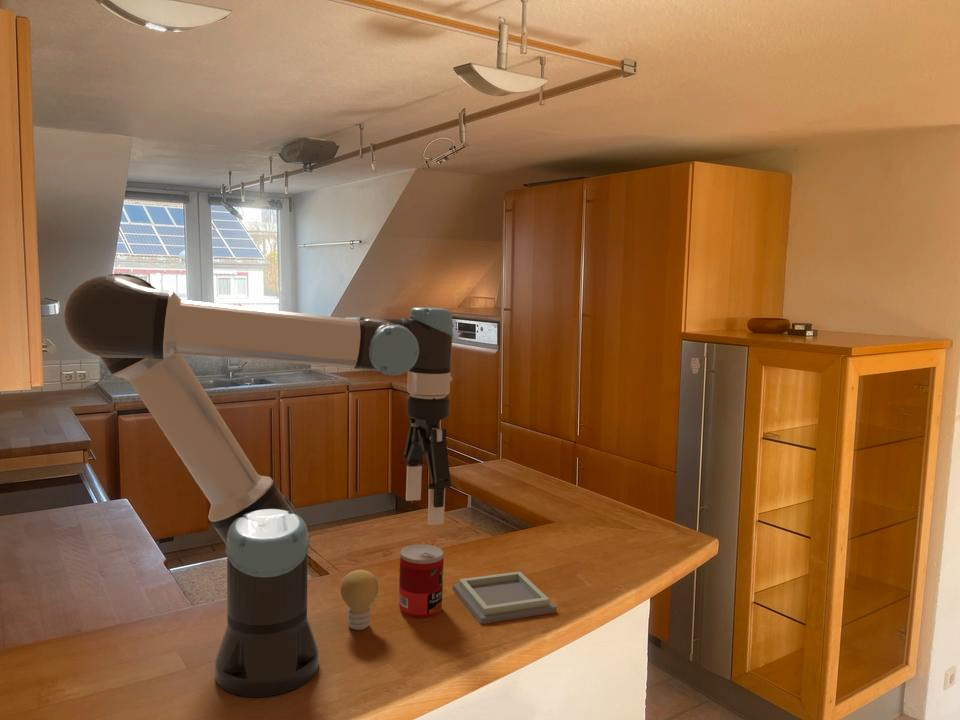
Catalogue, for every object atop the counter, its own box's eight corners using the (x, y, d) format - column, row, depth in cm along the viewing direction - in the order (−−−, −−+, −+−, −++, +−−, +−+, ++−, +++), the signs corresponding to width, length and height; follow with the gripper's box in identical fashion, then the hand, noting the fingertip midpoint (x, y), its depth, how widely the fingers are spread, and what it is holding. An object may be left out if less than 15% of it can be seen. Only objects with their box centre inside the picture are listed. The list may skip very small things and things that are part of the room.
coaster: (480, 624, 127) (481, 612, 126) (452, 588, 140) (452, 577, 140) (556, 612, 132) (556, 600, 132) (521, 579, 146) (522, 568, 146)
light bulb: (363, 614, 129) (364, 560, 127) (384, 627, 124) (386, 572, 123) (332, 625, 124) (333, 570, 123) (354, 639, 120) (355, 582, 118)
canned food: (436, 622, 127) (437, 562, 125) (392, 616, 128) (394, 557, 127) (446, 603, 134) (448, 546, 133) (405, 597, 136) (407, 541, 134)
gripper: (473, 407, 117) (467, 533, 119) (427, 383, 140) (423, 489, 142) (429, 408, 114) (424, 537, 116) (389, 384, 137) (386, 492, 139)
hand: (423, 511), depth 129 cm, fingers open, 13 cm apart
